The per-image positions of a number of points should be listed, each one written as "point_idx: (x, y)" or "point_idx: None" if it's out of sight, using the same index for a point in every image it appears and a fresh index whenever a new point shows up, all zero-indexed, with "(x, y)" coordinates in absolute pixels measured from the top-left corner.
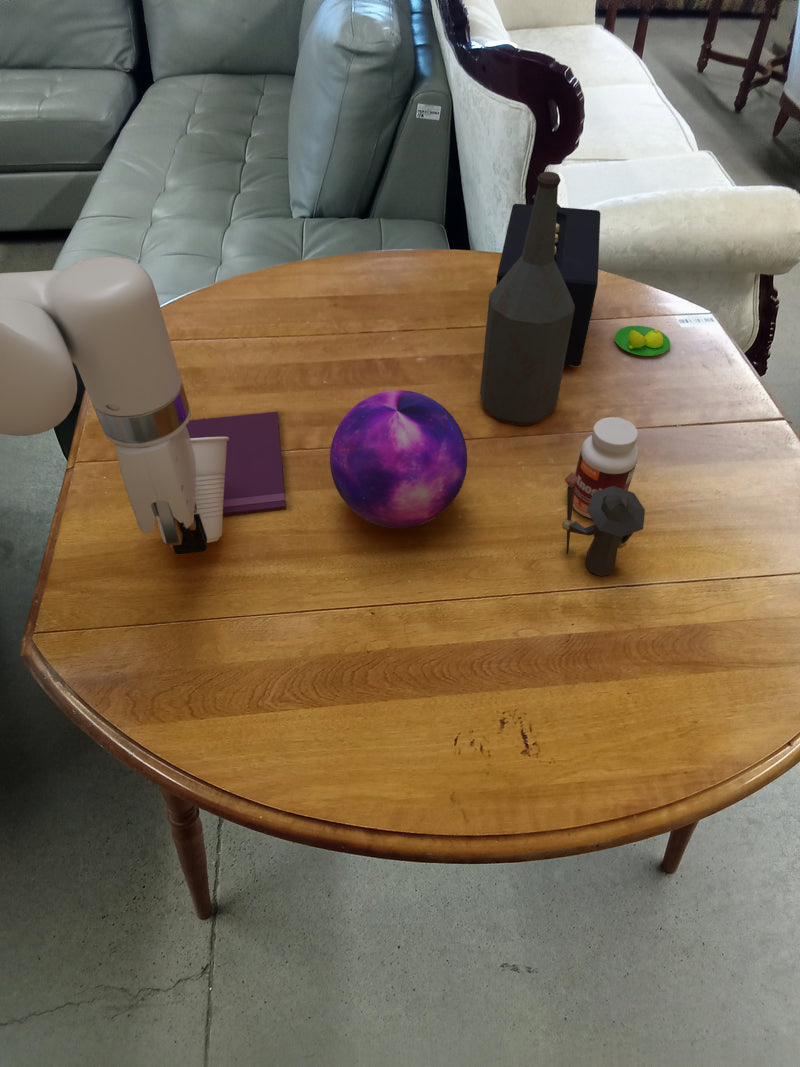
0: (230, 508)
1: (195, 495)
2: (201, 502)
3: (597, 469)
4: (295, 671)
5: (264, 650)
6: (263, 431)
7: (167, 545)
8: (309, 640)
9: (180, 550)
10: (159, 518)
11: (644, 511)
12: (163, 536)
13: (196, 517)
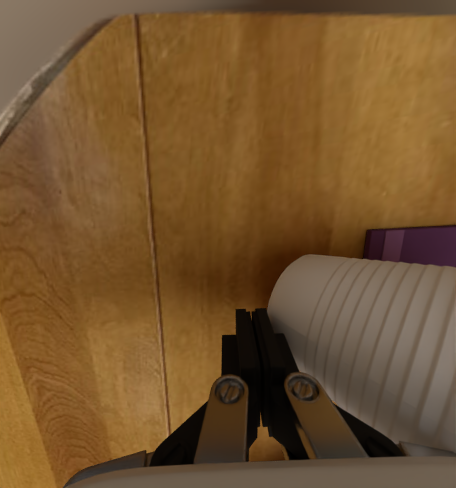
0: None
1: (358, 417)
2: (339, 404)
3: None
4: (80, 400)
5: (109, 371)
6: None
7: (64, 486)
8: (124, 412)
9: (222, 337)
10: (332, 286)
11: None
12: (297, 273)
13: (270, 430)
